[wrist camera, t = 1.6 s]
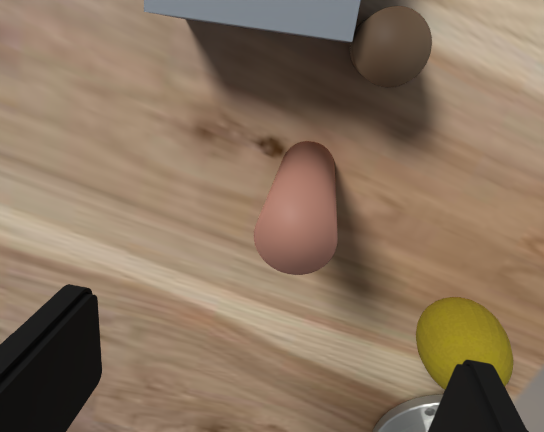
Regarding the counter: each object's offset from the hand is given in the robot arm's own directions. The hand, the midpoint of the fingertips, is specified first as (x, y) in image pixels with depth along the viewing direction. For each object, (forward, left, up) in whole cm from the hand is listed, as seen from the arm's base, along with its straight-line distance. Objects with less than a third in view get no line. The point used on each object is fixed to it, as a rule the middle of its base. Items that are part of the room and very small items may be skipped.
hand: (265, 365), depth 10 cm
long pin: (0, 0, -19) cm, 19 cm away
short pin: (-3, -8, -19) cm, 20 cm away
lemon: (-12, +9, -19) cm, 24 cm away
